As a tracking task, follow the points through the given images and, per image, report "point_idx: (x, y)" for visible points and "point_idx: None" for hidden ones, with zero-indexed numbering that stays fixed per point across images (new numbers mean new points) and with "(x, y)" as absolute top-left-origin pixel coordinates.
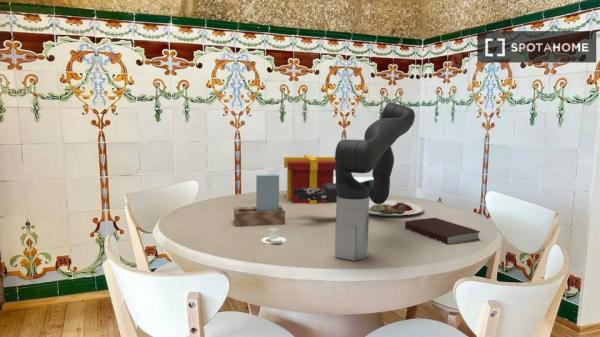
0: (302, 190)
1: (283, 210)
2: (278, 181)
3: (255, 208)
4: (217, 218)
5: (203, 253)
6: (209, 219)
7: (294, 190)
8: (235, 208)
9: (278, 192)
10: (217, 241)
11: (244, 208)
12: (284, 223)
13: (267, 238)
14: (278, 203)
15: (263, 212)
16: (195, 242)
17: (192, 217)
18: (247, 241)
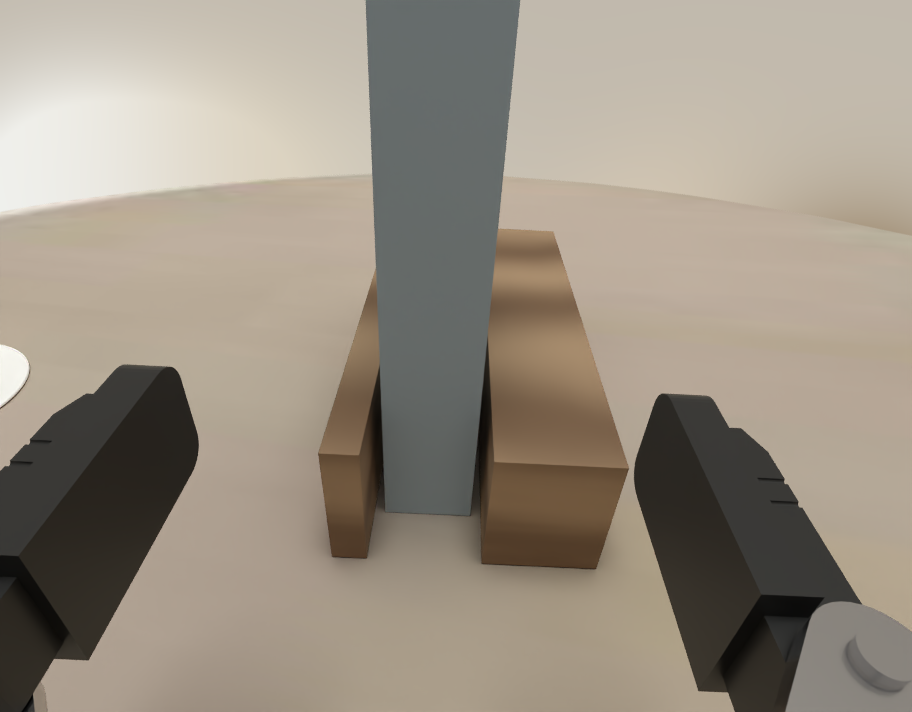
0: (748, 615)
1: (348, 443)
2: (368, 25)
3: (504, 295)
4: (594, 268)
5: (31, 208)
6: (572, 249)
7: (666, 419)
8: (521, 232)
9: (374, 210)
10: (154, 239)
11: (514, 257)
12: (333, 547)
13: (3, 373)
14: (379, 343)
15: (361, 319)
16: (195, 205)
17: (614, 221)
18: (47, 302)
